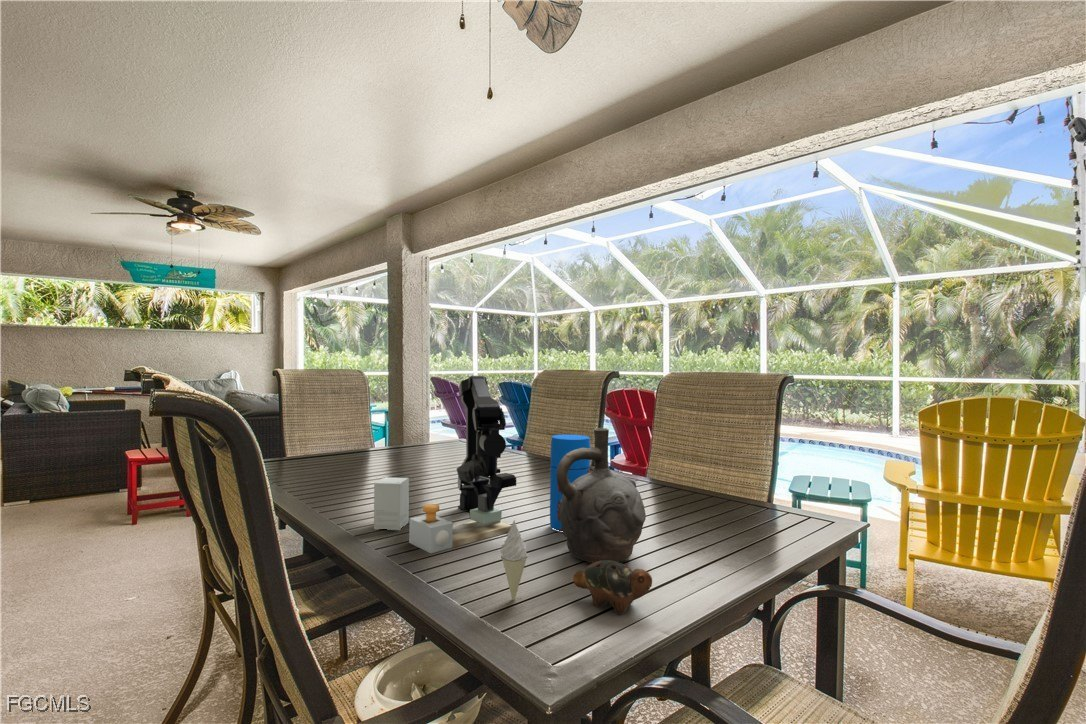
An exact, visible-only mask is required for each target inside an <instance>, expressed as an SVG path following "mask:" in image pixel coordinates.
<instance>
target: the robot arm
mask: <svg viewBox="0 0 1086 724" xmlns="http://www.w3.org/2000/svg"><path fill="white" fill-rule="evenodd" d="M458 385H459V386H458V396H459V397H460V402H461V404H462V405H463V407H464V409H465V429H466V430H465V433H466V434H465V439H466V440H465V442H466V443H465V450H466V451H465V453H466V456H465V458H464V459H463V462H462V463H461V465H460V466H458V467H457V468H456V472H457V477H458V478H457V488H458V489H459V490H458V491H460V495H459V505H458V506H457V508H458V509H460V510H463V511H466V512H469V513H470V510H472V509H476V508H478V495H481V494H486V493H487V507H488V510H491V509H492V507H493V505H495V504H496V501H497V499H498V497H499V496H500V493H501V491H502V490H503V489H506V488H511V487H516V486H517V477H516V476H515V475H514V474H512V473H509V472H503V473H501V468H498V459H501V457H502V456H501V455H502V454H503V453H504V452H505V450H506V445H507V443H506V440H505V438H504V437H503V435H501V434H500V431H506V430H505V429H506V425H507V422H506V417H505V412H504V411H503V408H502V407H501V406H500V404H499V402H498V400H497V399H494V398H492V395H491V393H490V390H489V383H488V380H487V377H486V376H485V375H470V376H468V378H466V379H463V380H461V381H460V383H459V384H458Z"/></svg>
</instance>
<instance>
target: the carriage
mask: <svg viewBox="0 0 1086 724" xmlns="http://www.w3.org/2000/svg"><path fill="white" fill-rule="evenodd" d="M494 505H495V504H494ZM494 505H493V507H492V509H491V510H488V507H487V493H486V494H481V495H478V508H476V509H472V510H470V512H469V520H471V521H476V522H479V523H481V524H487V523H491V522H495V521H499V520H501V521H502V510H501V509H498V508H495V506H494Z"/></svg>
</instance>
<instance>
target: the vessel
mask: <svg viewBox="0 0 1086 724" xmlns="http://www.w3.org/2000/svg"><path fill="white" fill-rule="evenodd" d="M593 429H594V430H593V432H594V448H591V447H590V448H580V449H576V450H573V451H571V452H569V453H567V454H566V455H565V456H564V457H563V458H562V460H561V461H560V463H559V465H558V469H557V483H558V486H559V488H560V490H561V491H562V493H563V496H562V500H561V501H560V504H559V509H558V511H559V516H560V519H561V525H562V529H563V532H564V533H563V535H564V537H565V539H566V547H567V549H568V551H569V552H568V553H570V554H571V555H572V556H573V557H574V558H577V560H578V559H579V560H581V561H584V562H588V563H591V564H592V563H594V562H597V561H602V560H611V561H616V562H619V563H620V562H624V561H626V560H628V559H629V558H630V557H631V556H632V554H633V550H634V546H635V545H636V543H637V542H638V541H639V538H640V537H641V535H642V532H643V526H644V524H645V522H646V515H647V514H646V509H645V505H644V502H643V498H642V496H641V493H640V491H639V490H638V489H637V484H636V481H635V480H633V479H631V478H629V477H627V476H625V475H621V474H618V473H614V472H612V470H611V469H610V467H609V436H610V435H609V429H608V428H605V427H603V428H602V427H597V428H593ZM583 459H588V460H590V461H594V468H593V470H592V471H590V473H588V474H585V475H583V476H581V477H579V478H577V479H576V480H575V481H574V482H573V483H570V482H569V480H568V470H569V468H570V466H571V465H572V464H573V463H574V462H575V461H577V460H583Z"/></svg>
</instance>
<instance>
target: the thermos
mask: <svg viewBox="0 0 1086 724" xmlns="http://www.w3.org/2000/svg"><path fill="white" fill-rule="evenodd" d="M550 439H551V441H550V475H549V476H550V478H549V479H550V480H549V481H550V482H549V487H550V489H549V491H550V493H549V495H550V496H549V519H550V520H549V526H551V527H552V528H554V529H556V530H559V531H563V529H562V525H561V519H560V516H559V511H558V509H559V504H560V501H561V500H562V496H563V493H562V491H561V490H560V488H559V486H558V483H557V469H558V465H559V463H560V461H561V460H562V458H563V457H564V456H565V455H566V454H567V453H569V452H571V451H573V450H576V449H580V448H591V438H590V436H589V435H583V434H581V435H580V434H555V435H552V436H551V438H550ZM588 473H591V460H588V459H583V460H577V461H575V462H574V463H573V464H572V465H571V466H570V468H569V470H568V480H569V482H570V483H573V482H574V481H575V480H576V479H577V478H579V477H581V476H583V475H585V474H588ZM551 527H550V528H551Z"/></svg>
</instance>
